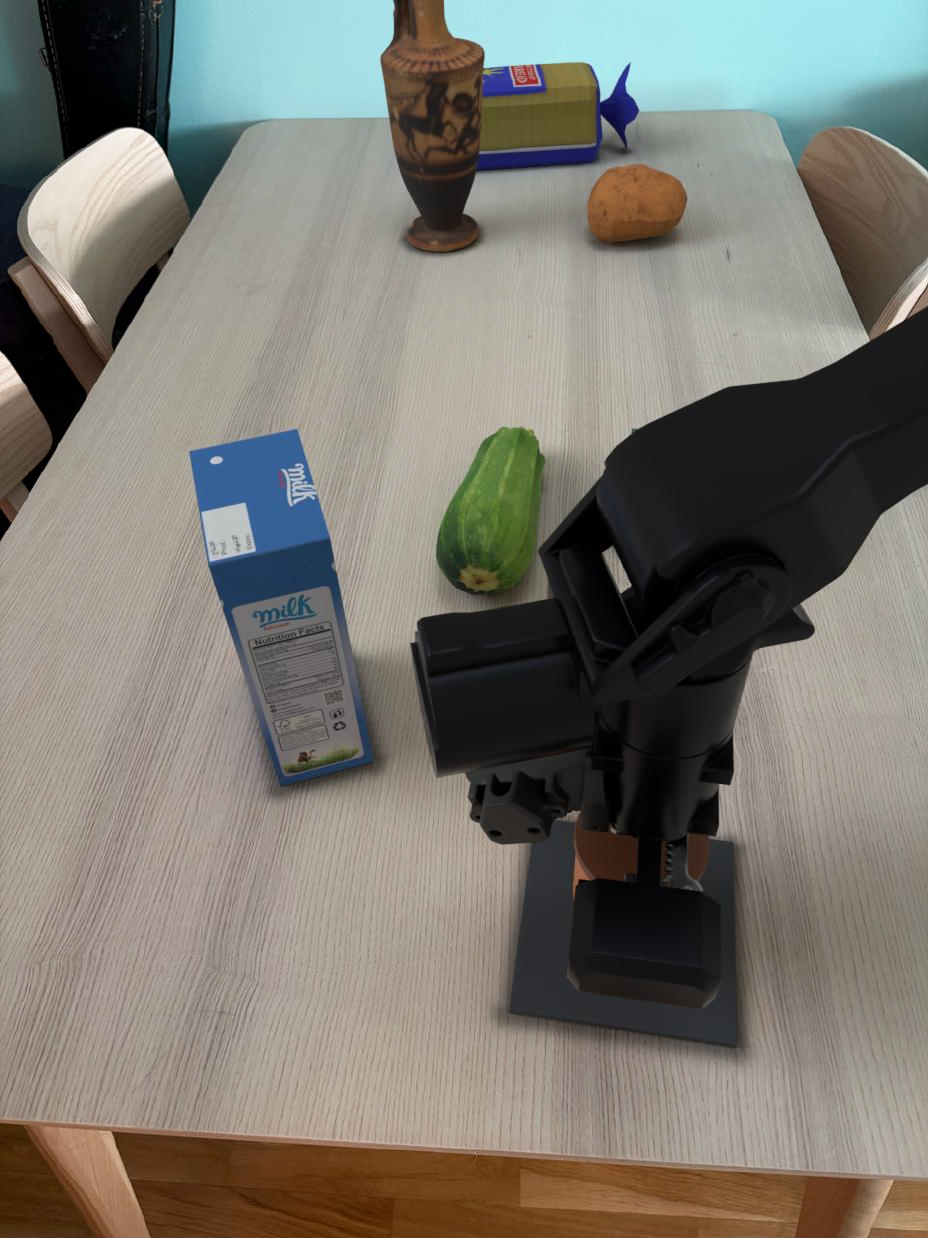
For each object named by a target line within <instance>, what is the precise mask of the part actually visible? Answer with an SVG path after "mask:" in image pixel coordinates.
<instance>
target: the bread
mask: <svg viewBox="0 0 928 1238" xmlns="http://www.w3.org/2000/svg"><path fill="white" fill-rule="evenodd" d="M631 63H632V62H631V61H630V62H629V63H628V64H627V65H626V66H625V67H624V69H623V70H622V72H621V74H620V75H619V78H618V79H617V82H616V83H615V86H614V88H613V90H612V92H611V94H610V95H609V97H607V98H606V99H603V100H601V88H600V87H601V86H600V82H599V79H598V76H597V74H596V72H595V70H594V67H593V66H592V65H591V64H590V63H587V62H583V61H576V62H575V61H573V62H572V61H571V62H554V63H534V64H519V65H518V64H517V65H506V66H505V65H504V66H503V65H502V66H493V67H492V66H491V67H484V68H483V90H482V116H481V139H480V149H479V159H478V163H477V170H476V171H483V170H499V169H512V168H513V169H514V168H528V167H542V166H543V167H544V166H555V165H556V166H557V165H571V164H586V163H593V162H594V161H595V158H596V157H597V155H598V152H599V149H600V146H601V143H602V141H603V125H602V118H603V119H605V121H606V122H607V123H608V124H609V125H610V126H611V127H612V128H613V130H614V131H615V132H616V133H617V135H618V137H619V139H620V141H621V142H622V144H623V146H624V148H625V149H626V150H627V149H628V141H627V136H626V129H627V126H628V125H630V124H631V123H633V122H634V121H635V120H636V119H637V116H638V114H639V112H640V109H639V107H638V104H637V102H636V100H635V99H634V98H633V97H632V96H631V95H630V94H629V92H628V91H627V85H626V83H627V80H628V76H629V73H630V68H631Z"/></svg>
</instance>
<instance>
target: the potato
mask: <svg viewBox="0 0 928 1238" xmlns="http://www.w3.org/2000/svg"><path fill="white" fill-rule="evenodd" d="M586 203H587V205H586V207H587V223H588V228H589V230H590V232H591V234H592V235H593V236H594V237H595V238H596V239H597V240H598V241H599V242H602V243H603V242H604V243H617V242H625V241H632V240H641V239H647V238H653V237H656V236H657V237H658V236H662V235H666V234H668V233H671V231H673V230H674V229H675V228H676V227H677V226H679V225H680V222H681V220H682V218H683V217H684V214H685V212H686V207H687V203H688V195H687V190H686V189H685V187H684V184H682V182H681V180H679V179H678V178H677V177H676V176H674V175H672V174H670V173H667V172H665V171H662V170H659V169H656V168H653V167H650V166H648V165H646V164H643V163H642V164H641V163H640V164H639V163H633V164H629V165H628V164H627V165H623V166H622V165H621V166H613V167H610V168H607V170H605V171H604V172H603V173H602V174H601V175H600V177H598V178H597V180H596V181H595V183H594V185H593V186H592V188H591V189H590V192H589V197H588V200H587V202H586Z"/></svg>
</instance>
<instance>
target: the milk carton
mask: <svg viewBox="0 0 928 1238" xmlns="http://www.w3.org/2000/svg"><path fill="white" fill-rule="evenodd" d="M298 430H299V429H298V428H293V429H289V430H284V431H279V432H275V433H269V434H265V435H260V436H256V437H251V438H246V439H241V440H235V441H232V442H227V443H222V444H217V445H211V446H208V447H203V448H197V449H193V450H189V451H188V454H189V460H190V466H191V471H192V477H193V478H192V479H193V483H194V489H195V496H196V502H197V508H198V512H199V519H200V525H201V532H202V537H203V543H204V548H205V549H204V550H205V555H206V556H205V557H206V561H207V566H208V568H209V571H210V572H209V573H210V575H211V579H212V581H213V584H214V587H215V590H216V594H217V596H218V599H219V602H220V605H221V608H222V611H223V612H222V613H223V614H224V618H225V621H226V624H227V628H228V630H229V633H230V637H231V639H232V643H233V645H234V648H235V651H236V655H237V657H238V661H239V664H240V666H241V670H242V672H243V676H244V679H245V682H246V684H247V688H248V691H249V694H250V698H251V701H252V704H253V706H254V709H255V710H254V711H255V713H256V717H257V719H258V722H259V726H260V728H261V731H262V734H263V738H264V740H265V743H266V747H267V750H268V753H269V756H270V759H271V762H272V764H273V768H274V771H275V775H276V777H277V779H278V783H279V786H280V787H284V786H288V785H291V784H292V785H293V784H295V783H299V782H302V781H308V780H310V779H315V778H318V777H321V776H325V775H329V774H333V773H336V772H340V771H344V770H347V769H351V768H355V767H360V766H363V765H366V764H370V763H374V757H373V752H372V747H371V742H370V741H371V740H370V736H369V730H368V726H367V720H366V716H365V710H364V706H363V700H362V699H363V698H362V695H361V689H360V685H359V680H358V674H357V669H356V664H355V659H354V654H353V648H352V643H351V638H350V632H349V628H348V627H349V626H348V623H347V622H348V621H347V618H346V613H345V608H344V603H343V596H342V591H341V587H340V582H339V577H338V572H337V571H338V570H337V566H336V560H335V556H334V555H335V554H334V550H333V546H332V541H331V536H330V533H329V528H328V526H327V523H326V519H325V516H324V513H323V509H322V505H321V503H320V500H319V496H318V493H317V490H316V486H315V483H314V480H313V476H312V473H311V469H310V466H309V464H308V460H307V457H306V454H305V450H304V447H303V444H302V440H301V437H300V433H299V431H298Z"/></svg>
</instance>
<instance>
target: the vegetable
mask: <svg viewBox="0 0 928 1238" xmlns="http://www.w3.org/2000/svg"><path fill="white" fill-rule="evenodd" d="M546 463H547V462H546V458H545V456H544V455H543V454H542V453H541V449H540V443H539V439H538V438H537V435H535V432H534V430H533V428H532V429H531V428H529V429H526V428H525V427H523V426H519V427H517V426H516V427H511V428H509V427H507V426H502V427H499V428H498V430H497V431H496V432H495V433H493V434H491V435H489V436H487V437H485V438H484V439H483V441H482V442H481V443H480V446H479V447H478V450H477V451H476V454H475V456H474V458H473V460H472V462H471V465H470V467H469V469H468V471H467V472H466V475H465V476H464V478H463V480H462V482H461V483H460V485H459V486H458V487H457V489H456V490H455V493H454V494H453V496H452V498H451V500H450V501H449V503H448V506H447V508H446V510H445V512H444V514H443V517H442V520H441V522H440V525H439V529H438V532H437V537H436V543H435V544H436V545H435V559H436V562H437V565H438V567H439V569H440V571H441V572H442V574H443V575H444V577H445V578H446V579H447V581H448V582H449V583H450V584H451V586H453V588H455V589H456V590H459V591H461V592H464V593H467V594H470V595H472V596H487V597H490V596H494V595H497V594H499V593H502V592H503V591H506V590H509V589H511V588H512V587H514V586H516V584H517V583H518V582H519V581H520V579H522V577H523V575H524V574H525V572H527V571H528V568H529V566H530V564H531V563H532V561H533V558H534V555H535V551H536V545H537V534H538V522H539V515H540V509H541V501H542V479H543V472H544V469H545V466H546Z"/></svg>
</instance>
